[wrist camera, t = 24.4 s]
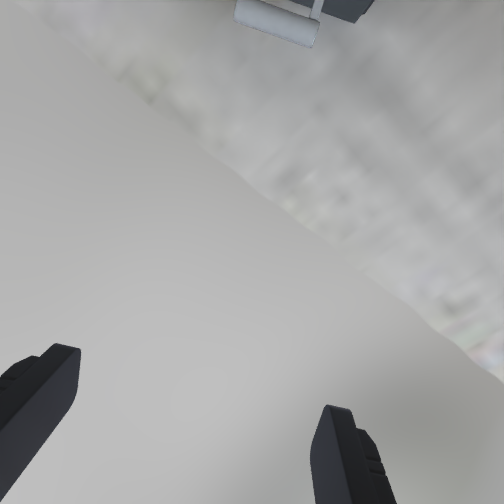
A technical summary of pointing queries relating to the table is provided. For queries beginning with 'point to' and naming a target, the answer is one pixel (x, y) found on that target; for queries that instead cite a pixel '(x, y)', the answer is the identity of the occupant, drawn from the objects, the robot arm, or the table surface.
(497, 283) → the table surface
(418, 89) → the table surface
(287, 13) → the grey drawer unit
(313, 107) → the table surface
